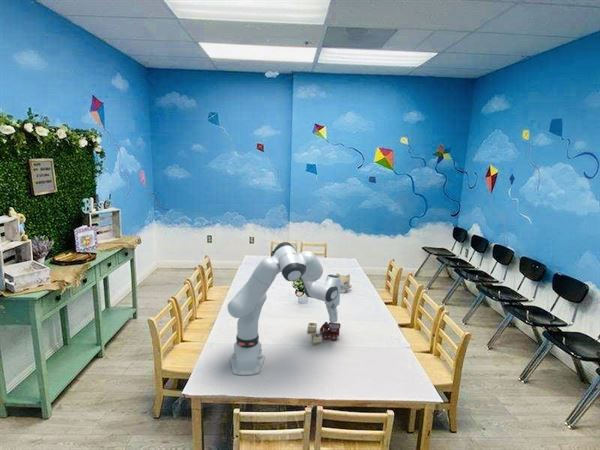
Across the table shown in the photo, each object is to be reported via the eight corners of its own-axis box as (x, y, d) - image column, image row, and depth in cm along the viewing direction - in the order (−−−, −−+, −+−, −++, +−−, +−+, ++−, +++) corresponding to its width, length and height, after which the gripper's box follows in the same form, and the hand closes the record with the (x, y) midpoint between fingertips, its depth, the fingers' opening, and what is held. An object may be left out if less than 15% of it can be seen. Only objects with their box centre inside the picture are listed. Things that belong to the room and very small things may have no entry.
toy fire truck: (320, 333, 237) (321, 318, 235) (340, 336, 235) (341, 320, 232) (318, 339, 230) (319, 323, 228) (339, 341, 228) (340, 326, 226)
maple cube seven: (315, 334, 236) (315, 326, 234) (307, 333, 236) (307, 326, 235) (316, 330, 240) (316, 323, 239) (308, 329, 241) (308, 322, 240)
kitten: (331, 293, 297) (332, 275, 294) (333, 288, 307) (334, 270, 303) (350, 295, 294) (351, 277, 290) (351, 290, 303) (352, 272, 300)
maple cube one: (321, 345, 224) (322, 337, 223) (313, 346, 223) (313, 338, 222) (318, 340, 229) (319, 332, 228) (311, 341, 228) (311, 333, 226)
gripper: (340, 308, 217) (339, 330, 220) (334, 293, 236) (333, 314, 240) (329, 308, 216) (328, 330, 219) (324, 293, 236) (323, 314, 239)
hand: (331, 321), depth 230 cm, fingers closed
